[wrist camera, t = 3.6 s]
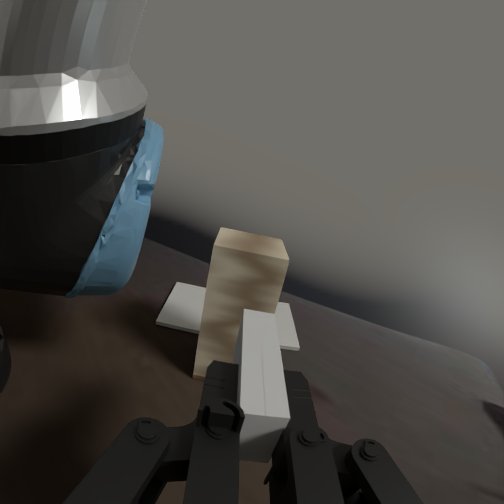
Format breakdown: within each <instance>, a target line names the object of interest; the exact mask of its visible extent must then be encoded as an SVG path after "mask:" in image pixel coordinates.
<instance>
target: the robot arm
mask: <svg viewBox="0 0 504 504" xmlns="http://www.w3.org/2000/svg"><path fill="white" fill-rule="evenodd" d="M147 1H148V0H0V288H2V289H10V290H17V291H25V292H33V293H41V294H50V295H59V296H65V297H67V298H72V297H75V296H76V295H111V294H114V293H116V292H118V291H119V290H121V289H122V288H123V287H124V286H125V285H126V284H127V282H128V281H129V279H130V277H131V275H132V272H133V270H134V267H135V265H136V262H137V258H138V255H139V252H140V248H141V244H142V241H143V237H144V233H145V229H146V225H147V220H148V216H149V212H150V207H151V198H150V197H151V195H152V194H153V190H154V186H155V182H156V179H157V176H158V172H159V166H160V162H161V156H162V149H163V129H162V127H161V126H160V125H158V124H156V123H154V122H153V121H152V120H151V119H143V116H144V111H145V106H146V103H147V98H148V93H147V91H146V89H145V87H144V86H143V84H142V83H141V82H140V80H139V79H138V77H137V76H136V74H135V73H134V72H133V70H132V69H131V68H130V63H129V60H130V56H131V52H132V49H133V45H134V41H135V38H136V34H137V31H138V28H139V25H140V21H141V18H142V15H143V12H144V10H145V7H146V3H147ZM10 368H11V357H10V352H9V348H8V345H7V341H6V337H5V334H4V332H3V330H2V327H1V326H0V393H1V391H2V390H3V388H4V386H5V384H6V382H7V380H8V377H9V373H10ZM309 390H310V389H309V385H308V381H307V379H306V378H305V377H304V376H303V374H302V373H301V372H296V371H287V370H283V365H282V358H281V352H280V345H279V339H278V332H277V326H276V319H275V314H272V313H266V312H260V311H254V310H249V309H244V310H243V314H242V319H241V323H240V328H239V332H238V337H237V341H236V345H235V350H234V355H233V363H227V362H222V361H216V360H213V361H212V363H211V364H210V365H209V366H208V367H207V370H206V375H205V381H204V386H203V391H202V397H201V402H200V407H199V409H198V414H197V418H196V419H195V420H194V421H193V422H192V423H190V424H188V425H185V426H181V427H166V426H165V425H164V424H163V423H161V422H160V421H158V420H156V419H152V418H137V419H134V420H132V421H131V422H130V423H128V424H127V425H126V427H125V428H124V429H123V430H122V432H121V433H120V434H119V435H118V437H117V438H116V439H115V440H114V441H113V443H112V444H111V445H110V446H109V448H108V449H107V450H106V451H105V453H104V454H103V455H102V456H101V457H100V459H99V460H98V461H97V462H96V464H95V465H94V466H93V467H92V468H91V470H90V471H89V472H88V473H87V474H86V476H85V477H84V478H83V479H82V481H81V482H80V483H79V484H78V485H77V487H76V488H75V489H74V490H73V491H72V493H71V494H70V495H69V496H68V497H67V499H66V500H65V501H64V502H63V504H155V502H156V501H157V499H158V497H159V496H160V494H161V492H162V490H163V489H164V487H165V485H166V484H167V482H173V481H186V488H185V494H184V500H183V504H238V489H239V460H242V461H252V462H264V463H268V462H269V460H270V458H271V456H272V467H271V469H270V471H269V473H268V474H267V476H266V478H265V480H264V484H267V483H268V481H269V490H270V504H423V502H422V501H421V499H420V498H419V497H418V495H417V494H416V492H415V491H414V489H413V488H412V487H411V485H410V484H409V482H408V481H407V479H406V478H405V477H404V475H403V474H402V472H401V471H400V469H399V468H398V467H397V465H396V464H395V462H394V461H393V459H392V458H391V456H390V455H389V454H388V452H387V451H386V449H385V448H384V447H383V446H382V445H381V444H380V443H379V442H377V441H375V440H371V439H360V440H358V441H356V442H355V443H354V445H353V446H351V445H347V444H343V443H339V442H336V441H333V440H331V439H329V438H328V436H327V434H326V432H324V431H323V430H322V429H321V428H319V426H318V423H317V419H316V414H315V410H314V406H313V402H312V399H311V393H310V392H309Z"/></svg>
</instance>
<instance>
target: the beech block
mask: <svg viewBox="0 0 504 504" xmlns="http://www.w3.org/2000/svg"><path fill="white" fill-rule="evenodd" d="M288 264H289V258H288V255H287V252H286V250H285V247H284V244H283V242H282V240H280V239H276V238H271V237H266V236H261V235H257V234H252V233H247V232H242V231H237V230H232V229H227V228H222V227H221V229H220V231H219V234H218V236H217V238H216V241H215V243H214V247H213V252H212V258H211V264H210V269H209V275H208V281H207V287H206V293H205V299H204V305H203V312H202V318H201V324H200V331H199V337H198V344H197V351H196V358H195V365H194V372H193V378H192V379H197V380H202V381H205V375H206V370H207V367H208V366H209V365H210V364H211V363H212V361H213V360H216V361H222V362H227V363H233V355H234V350H235V345H236V341H237V337H238V332H239V328H240V323H241V319H242V314H243V310H244V309H249V310H254V311H260V312H266V313H272V314H275V311H276V307H277V304H278V300H279V297H280V293H281V289H282V286H283V282H284V279H285V275H286V271H287V267H288Z"/></svg>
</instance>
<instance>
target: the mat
mask: <svg viewBox="0 0 504 504" xmlns="http://www.w3.org/2000/svg"><path fill="white" fill-rule="evenodd" d="M205 293H206V288H203V287H198V286H194V285H189V284H184V283H180V282H177V283H176V285H175V287H174V288H173V290H172V292H171V294H170V296H169V297H168V299H167V301H166V303H165V305H164V307H163V309H162V310H161V312H160V314H159V316H158V318H157V320H156V325H160V326H165V327H169V328H173V329H178V330H182V331H187V332H191V333H196V334H199V331H200V324H201V318H202V312H203V305H204V299H205ZM275 319H276V326H277V332H278V339H279V345H280V348H281V349H288V350H295V351H299V349H300V347H299V343H298V338H297V334H296V330H295V326H294V322H293V318H292V314H291V310H290V306H289V304H288V303H282V302H278V304H277V307H276V311H275Z"/></svg>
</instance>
